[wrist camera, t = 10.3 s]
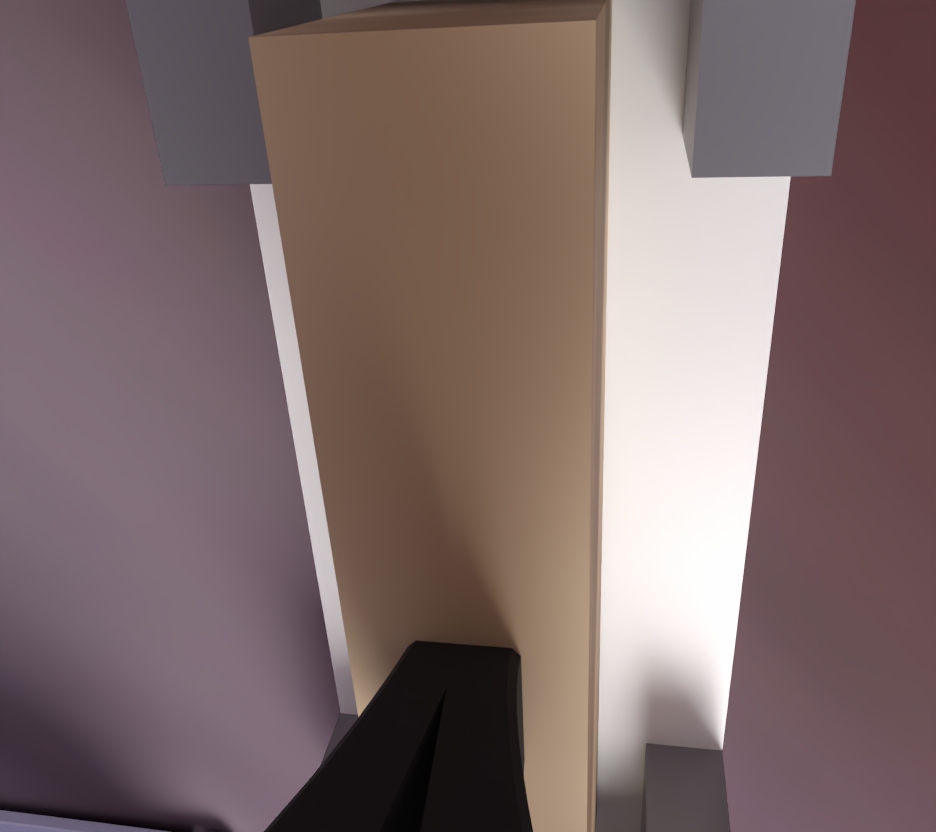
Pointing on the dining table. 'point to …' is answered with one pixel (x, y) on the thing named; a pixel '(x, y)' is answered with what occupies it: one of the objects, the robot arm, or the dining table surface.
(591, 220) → the oak slat
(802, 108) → the cradle
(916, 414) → the dining table surface
